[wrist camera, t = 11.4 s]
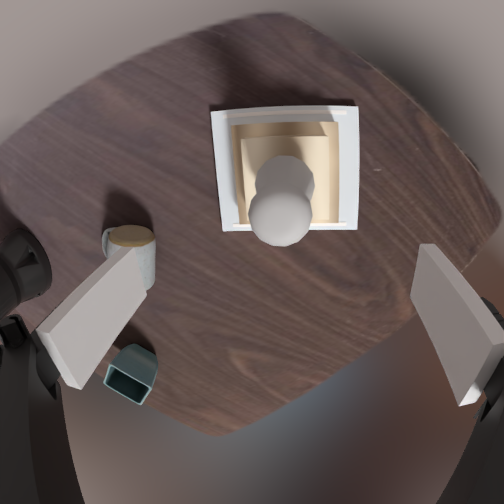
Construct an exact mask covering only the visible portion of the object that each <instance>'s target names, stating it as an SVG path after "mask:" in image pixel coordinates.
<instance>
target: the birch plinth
mask: <svg viewBox="0 0 504 504" xmlns="http://www.w3.org/2000/svg"><path fill="white" fill-rule="evenodd" d="M231 133H232V145H233V156H234V168H235V179H236V191H237V202H238V213H239V224H250V221H249V217H248V211H249V207H250V203H251V200H252V198H253V197H254V196H255V195H256V188H255V180H256V176H257V171H258V170H259V169H260V168H261V166H262V165H263V164H264V163H265V162H266V161H267V160H269V159H271V158H274V157H276V156H278V155H281V156H294V157H296V158H297V159H299V160H301V161H303V162H305V164H306V165H307V166H308V167H309V169H310V170H311V171H312V173H313V177H314V183H315V188H314V192H313V196H312V199H311V201H310V203H311V209H312V215H313V217H312V220H311V223H339V127H338V122H321V121H312V122H273V123H255V124H241V125H231Z"/></svg>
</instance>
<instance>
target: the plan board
mask: <svg viewBox="0 0 504 504" xmlns="http://www.w3.org/2000/svg"><path fill="white" fill-rule="evenodd" d="M211 120H212V131H213V142H214V152H215V163H216V173H217V182H218V192H219V201H220V210H221V219H222V228H223V231H253V230H252V229H251V225H250V224H239V213H238V202H237V191H236V179H235V168H234V156H233V145H232V133H231V125H241V124H255V123H273V122H312V121H321V122H338V127H339V223H310V227H309V230H357V221H358V199H359V116H358V107H355V106H275V107H257V108H244V109H233V110H223V111H214V112H211Z"/></svg>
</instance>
